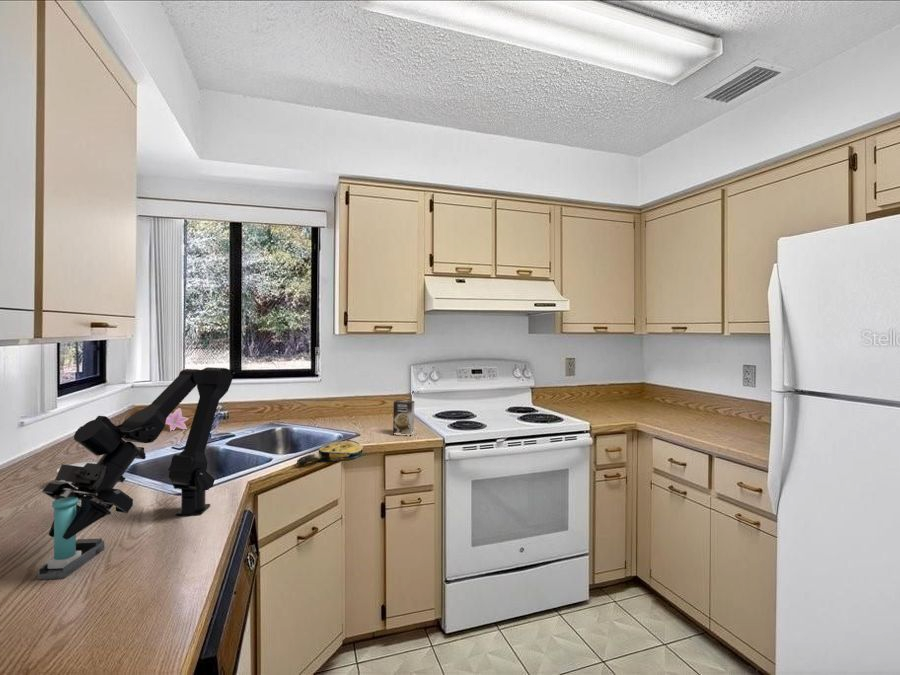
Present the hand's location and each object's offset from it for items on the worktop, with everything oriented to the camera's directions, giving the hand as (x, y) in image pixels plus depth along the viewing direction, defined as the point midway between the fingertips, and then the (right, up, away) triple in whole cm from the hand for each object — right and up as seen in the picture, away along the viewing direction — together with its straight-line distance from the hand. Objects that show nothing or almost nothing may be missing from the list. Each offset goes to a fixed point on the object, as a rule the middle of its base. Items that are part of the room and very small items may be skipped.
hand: (57, 537), depth 92 cm
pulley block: (+33, -7, +85) cm, 92 cm away
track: (0, -7, +4) cm, 8 cm away
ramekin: (-39, -6, +53) cm, 66 cm away
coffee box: (+56, -7, +129) cm, 141 cm away
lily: (-56, -5, +132) cm, 143 cm away
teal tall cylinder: (0, -6, +1) cm, 6 cm away
